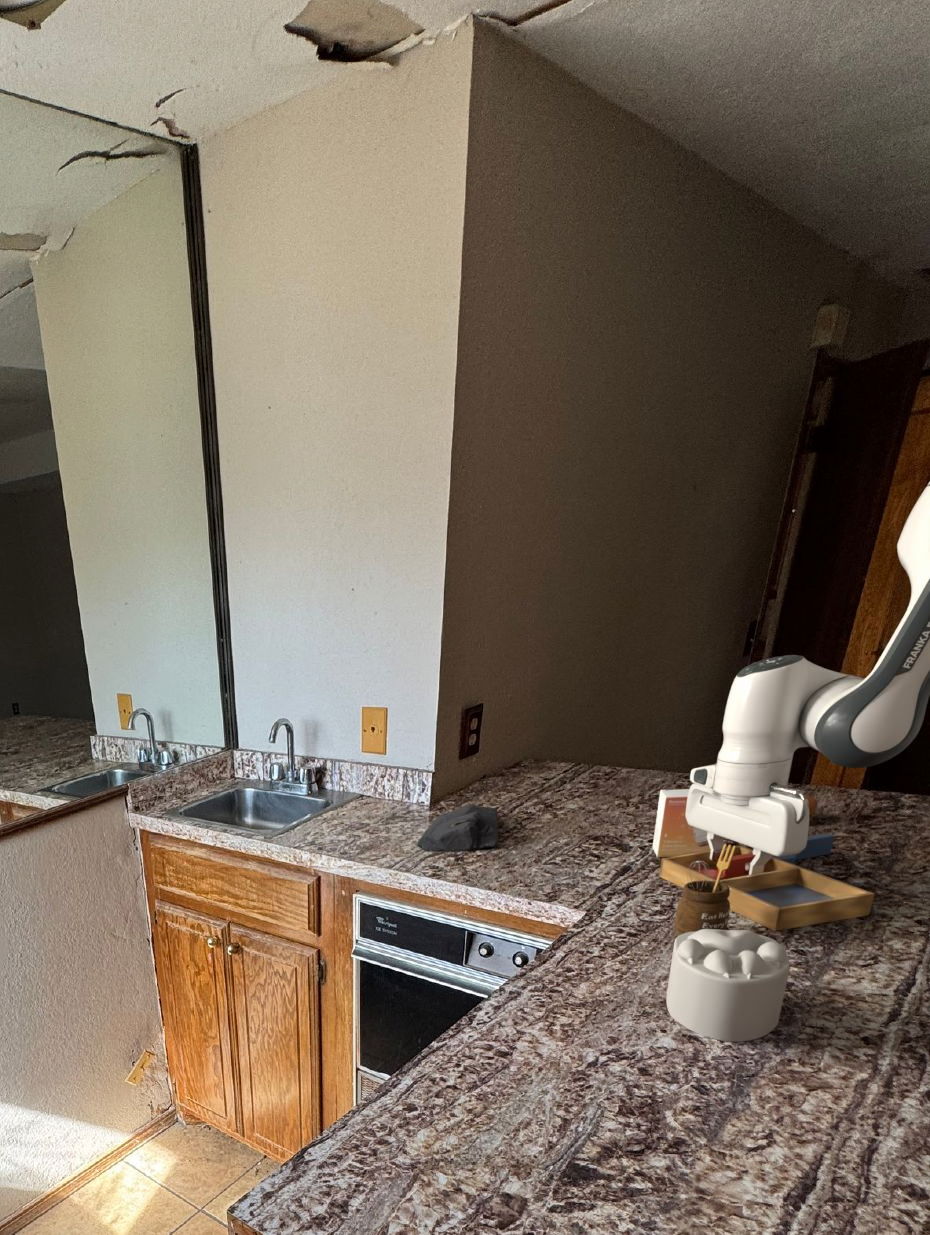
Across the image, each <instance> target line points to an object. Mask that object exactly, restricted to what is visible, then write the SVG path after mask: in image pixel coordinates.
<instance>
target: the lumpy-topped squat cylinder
mask: <svg viewBox="0 0 930 1235" xmlns="http://www.w3.org/2000/svg"><path fill="white" fill-rule="evenodd" d="M670 963H671V964H670V970H669V976H668V982H667V983H668V984H667V990H666V999H665V1000H666V1009H667V1011H668V1014H669V1015H670V1017H671V1018H672V1019H673V1020H674V1021H676V1022H677V1023H679V1024H680V1025H682V1026H683V1027H685V1028H686V1029H688V1030H690V1031H691V1032H694V1033H696V1034H698V1035H701V1036H704V1037H707V1038H709V1039H710V1038H711V1039H714V1040H717V1041H723V1042H733V1043H734V1042H735V1043H737V1042H741V1043H742V1042H747V1041H753V1040H757V1039H760V1038H763V1037H765V1036H766V1035H768V1034H770V1033H771V1032H772V1031H773V1030H774V1029H775V1028H776V1027H777V1026H778V1024H779V1020H780V1015H781V1011H782V1007H783V1002H784V997H785V993H786V988H787V984H788V979H789V975H790V968H791V964H790V959H789V956H788V954H787V950H786V948H785V947H784V946H783V944H781V943H779V942H778V941H776V940H775V939H774V938H771V937H768V936H765V935H762V934H757V933H756V932H754V931H753V930H748V929H729V930H728V929H726V930H718V929H702V930H699V931H697V932H688V933H684V934H682V935H680V936H677V937H676V938H675V939H674V943H673V949H672V956H671V962H670Z"/></svg>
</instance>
